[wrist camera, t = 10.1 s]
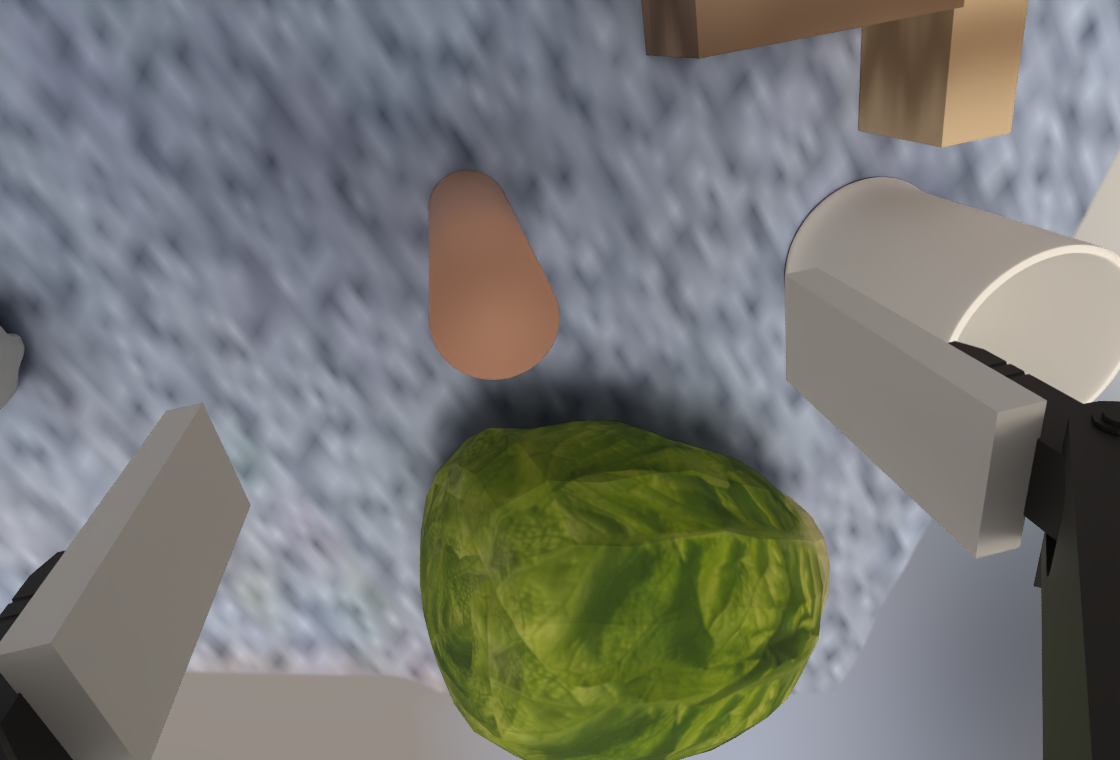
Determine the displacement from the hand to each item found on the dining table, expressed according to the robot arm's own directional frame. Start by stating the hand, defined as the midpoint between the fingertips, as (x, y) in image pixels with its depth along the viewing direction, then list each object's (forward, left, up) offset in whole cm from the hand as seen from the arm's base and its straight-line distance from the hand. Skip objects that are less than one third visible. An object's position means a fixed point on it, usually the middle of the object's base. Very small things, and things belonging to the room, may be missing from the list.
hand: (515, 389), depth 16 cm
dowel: (0, 0, -18) cm, 18 cm away
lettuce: (+18, +4, -18) cm, 26 cm away
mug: (+7, +21, -18) cm, 29 cm away
